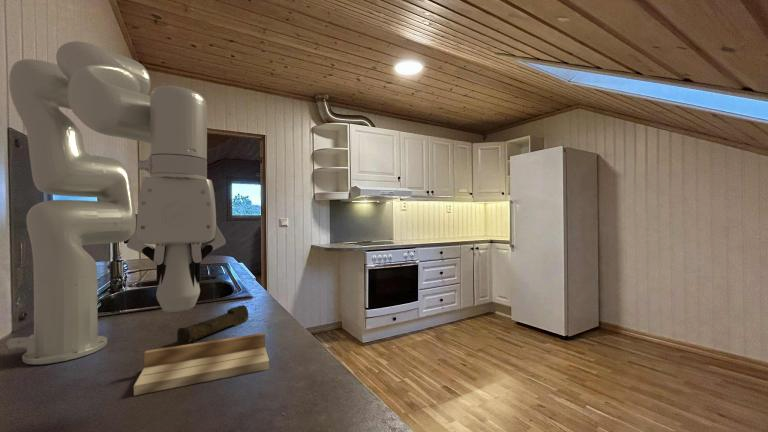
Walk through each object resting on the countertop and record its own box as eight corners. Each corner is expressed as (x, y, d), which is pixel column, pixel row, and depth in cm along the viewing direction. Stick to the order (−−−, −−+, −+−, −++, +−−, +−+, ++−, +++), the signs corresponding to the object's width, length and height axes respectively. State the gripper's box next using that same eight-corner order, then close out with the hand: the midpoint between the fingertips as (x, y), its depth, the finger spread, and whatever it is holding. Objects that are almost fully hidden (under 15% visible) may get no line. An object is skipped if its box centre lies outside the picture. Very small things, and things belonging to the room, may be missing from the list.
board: (133, 395, 51) (133, 369, 51) (148, 369, 60) (148, 347, 60) (269, 368, 59) (268, 346, 59) (263, 349, 68) (263, 330, 68)
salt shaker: (152, 315, 47) (152, 225, 47) (159, 305, 52) (159, 224, 52) (199, 310, 50) (199, 225, 50) (201, 301, 55) (201, 224, 55)
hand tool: (187, 347, 70) (187, 326, 70) (175, 344, 72) (175, 323, 72) (255, 322, 88) (255, 304, 88) (244, 320, 89) (244, 303, 89)
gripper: (104, 163, 44) (104, 299, 44) (237, 170, 51) (237, 288, 51) (121, 170, 51) (121, 288, 51) (236, 176, 58) (236, 279, 58)
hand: (179, 287), depth 51 cm, fingers closed on salt shaker, 3 cm apart
